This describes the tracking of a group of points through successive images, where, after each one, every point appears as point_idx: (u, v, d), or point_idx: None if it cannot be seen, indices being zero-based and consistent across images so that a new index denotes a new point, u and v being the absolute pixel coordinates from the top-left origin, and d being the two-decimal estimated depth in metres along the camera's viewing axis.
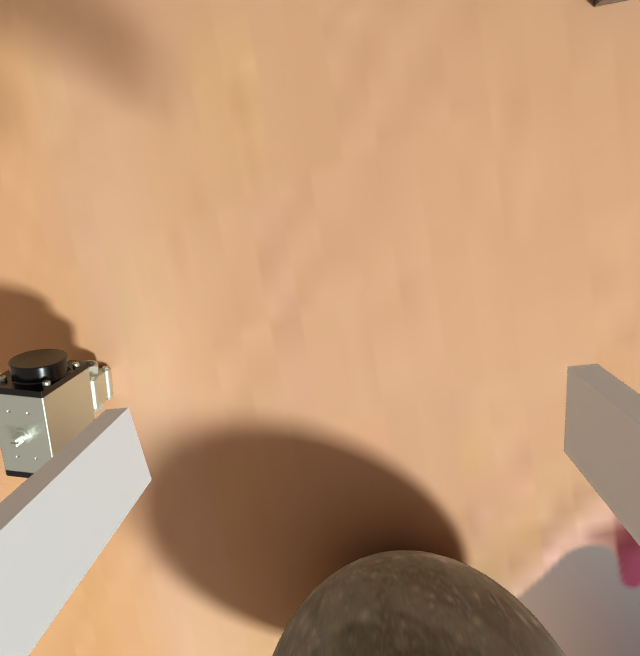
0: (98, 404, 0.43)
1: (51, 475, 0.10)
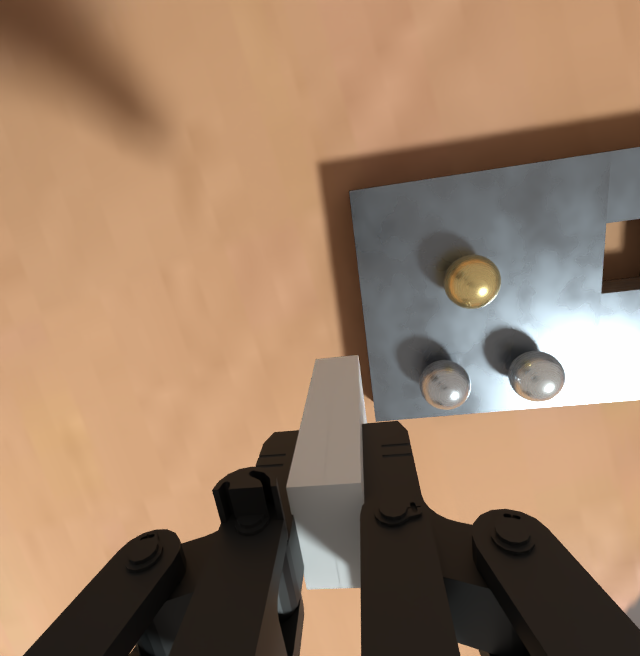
0: None
1: (325, 402, 0.11)
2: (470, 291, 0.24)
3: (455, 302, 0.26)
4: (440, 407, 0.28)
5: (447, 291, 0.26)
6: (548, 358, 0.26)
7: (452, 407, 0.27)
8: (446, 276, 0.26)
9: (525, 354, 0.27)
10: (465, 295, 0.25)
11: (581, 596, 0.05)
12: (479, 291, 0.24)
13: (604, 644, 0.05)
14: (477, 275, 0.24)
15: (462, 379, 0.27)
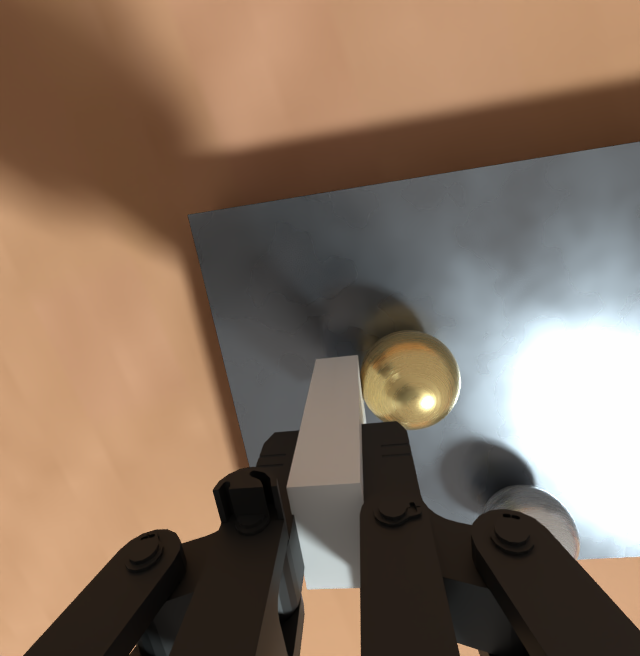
0: None
1: (325, 402, 0.11)
2: (399, 408, 0.13)
3: None
4: None
5: (363, 398, 0.14)
6: (549, 511, 0.15)
7: None
8: (361, 370, 0.14)
9: (509, 495, 0.16)
10: (391, 413, 0.13)
11: (579, 596, 0.05)
12: (417, 409, 0.13)
13: (603, 644, 0.05)
14: (411, 379, 0.12)
15: None
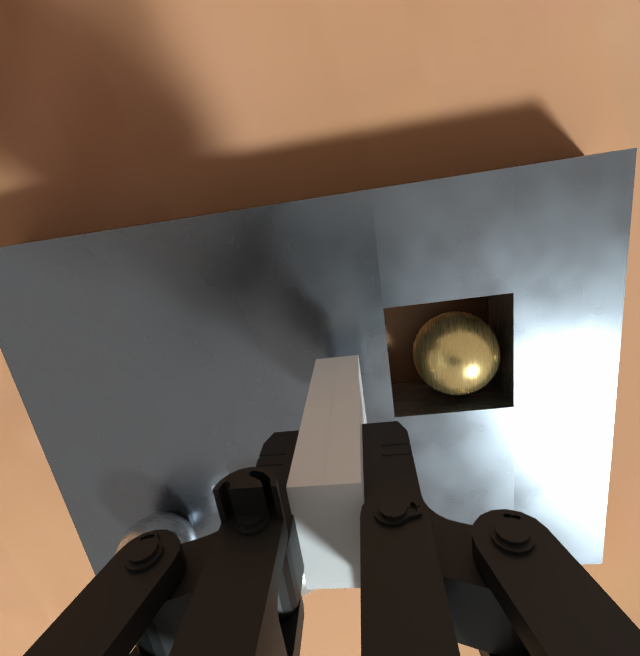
0: None
1: (325, 402, 0.11)
2: (499, 359, 0.16)
3: (475, 388, 0.16)
4: None
5: (470, 377, 0.15)
6: None
7: None
8: (461, 354, 0.15)
9: None
10: (496, 368, 0.16)
11: (581, 596, 0.05)
12: None
13: (604, 645, 0.05)
14: (494, 334, 0.16)
15: None
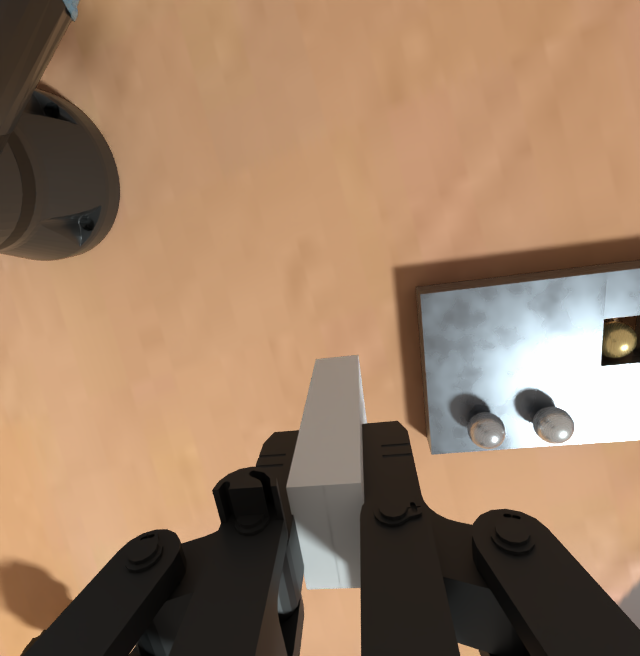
0: None
1: (325, 402, 0.11)
2: (633, 345, 0.37)
3: (617, 355, 0.37)
4: (484, 447, 0.38)
5: (613, 349, 0.37)
6: (562, 413, 0.37)
7: (492, 447, 0.38)
8: (610, 339, 0.37)
9: (545, 409, 0.38)
10: (630, 349, 0.37)
11: (581, 596, 0.05)
12: None
13: (604, 644, 0.05)
14: (634, 334, 0.37)
15: (500, 428, 0.37)
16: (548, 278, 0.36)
